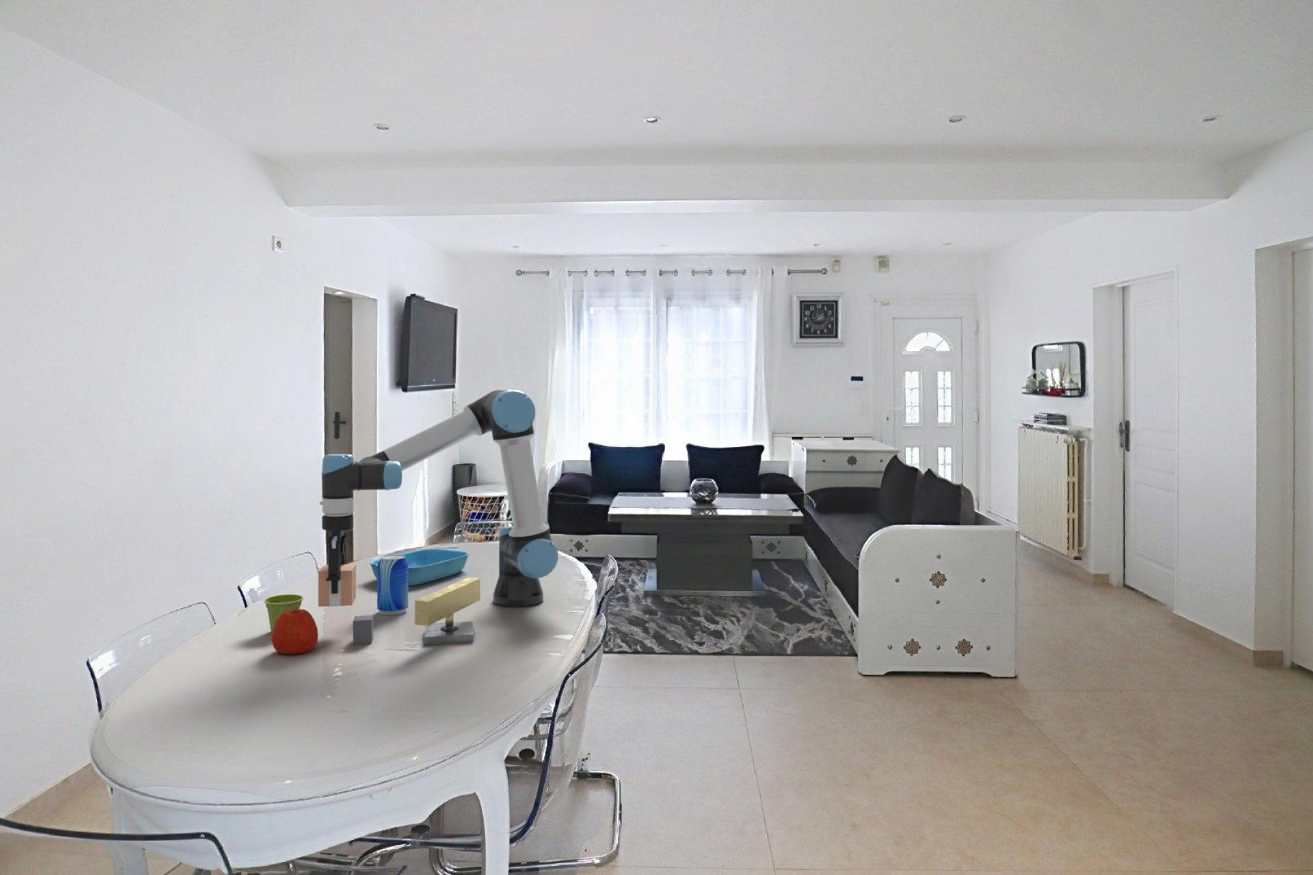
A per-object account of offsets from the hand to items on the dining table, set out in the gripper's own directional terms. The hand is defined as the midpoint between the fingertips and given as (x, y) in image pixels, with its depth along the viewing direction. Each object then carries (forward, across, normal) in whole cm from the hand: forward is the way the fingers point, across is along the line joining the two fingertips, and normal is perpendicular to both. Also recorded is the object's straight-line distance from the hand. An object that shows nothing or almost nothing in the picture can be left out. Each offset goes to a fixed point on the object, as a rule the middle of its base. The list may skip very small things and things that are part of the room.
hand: (337, 601), depth 206 cm
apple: (+9, +13, -8) cm, 18 cm away
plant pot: (+9, -5, -14) cm, 17 cm away
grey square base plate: (+8, +8, +28) cm, 31 cm away
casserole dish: (+9, -65, +18) cm, 68 cm away
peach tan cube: (0, 0, 0) cm, 0 cm away
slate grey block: (+9, +8, +7) cm, 14 cm away
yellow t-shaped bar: (+6, +8, +28) cm, 30 cm away
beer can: (+9, -19, +12) cm, 24 cm away
